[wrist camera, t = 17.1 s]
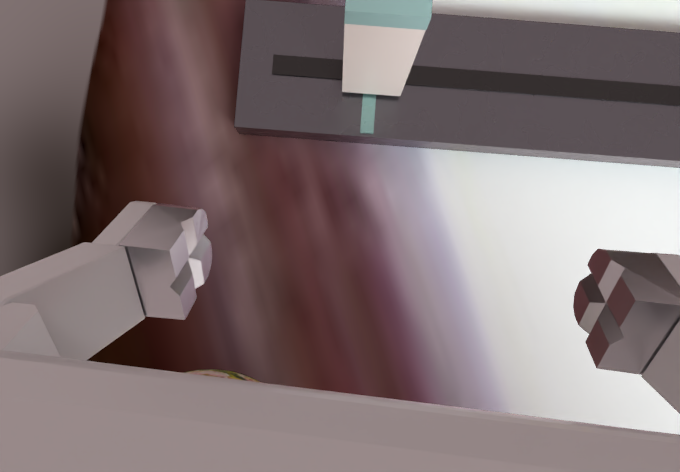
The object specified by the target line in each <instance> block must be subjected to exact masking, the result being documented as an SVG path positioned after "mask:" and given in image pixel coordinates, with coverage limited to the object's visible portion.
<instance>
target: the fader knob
mask: <svg viewBox="0 0 680 472" xmlns="http://www.w3.org/2000/svg"><path fill="white" fill-rule="evenodd" d="M431 15H432V0H346V2H345V21H344V51H343V78H342V92H350V93H363V94H376V95H389V96H401V93H402V91H403V88H404V85H405V83H406V80H407V78H408V75H409V72H410V70H411V67H412V65H413V62H414V59H415V57H416V54H417V52H418V49H419V46H420V44H421V41H422V39H423V36H424V33H425V31H426V30H427V27H428V25H429V22H430V20H431Z"/></svg>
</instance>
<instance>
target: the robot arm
mask: <svg viewBox="0 0 680 472" xmlns="http://www.w3.org/2000/svg"><path fill="white" fill-rule="evenodd" d="M207 227H208V221H207V216H206V212H205V211H204V210H203V209H202V208H194V207H186V206H178V205H169V204H161V203H153V202H143V201H133V202H130V203H129V204H128V205H127V206H126V207H125V208H124V209H123V210H122V211H121V212H120V213H119V214H118V215H117V217H116V218H115V219H114V220H113V221H112V222H111V223H110V224H109V225H108V226H107V227H106V228H105V229H104V230H103V231H102V232H101V234H100V235H99V236H98V237H97V238H96V239H95V240H94V241H93V242H92V243H87V242H84V243H81V244H79V245H76V246H74V247H71V248H69V249H67V250H64V251H62V252H59V253H57V254H54V255H52V256H49V257H47V258H44V259H42V260H39V261H37V262H34V263H32V264H29V265H27V266H24V267H22V268H19V269H17V270H15V271H12V272H10V273H7V274H5V275H2V276H0V472H680V435H677V434H669V433H661V432H652V431H644V430H636V429H628V428H620V427H612V426H604V425H596V424H588V423H581V422H573V421H565V420H557V419H549V418H541V417H533V416H526V415H518V414H510V413H502V412H494V411H486V410H478V409H470V408H462V407H454V406H446V405H438V404H430V403H422V402H414V401H406V400H398V399H390V398H382V397H374V396H366V395H358V394H350V393H342V392H334V391H326V390H318V389H310V388H301V387H293V386H285V385H277V384H269V383H261V382H253V381H245V380H237V379H229V378H221V377H213V376H205V375H197V374H189V373H181V372H173V371H165V370H157V369H149V368H141V367H133V366H125V365H117V364H109V363H101V362H93V361H86V360H88V359H89V358H90V357H92V356H93V355H95V354H96V353H97V352H99V351H100V350H102V349H103V348H104V347H106V346H107V345H109V344H110V343H111V342H113V341H114V340H116V339H117V338H118V337H120V336H121V335H123V334H124V333H125V332H127V331H128V330H130V329H131V328H132V327H134V326H135V325H137V324H138V323H139V322H141V321H142V320H144V319H145V316H147V317H158V318H169V319H181V320H185V319H186V317H187V315H188V313H189V311H190V309H191V308H192V306H193V304H194V302H195V300H196V298H197V296H196V290H195V289H196V288H197V287H199V286H201V285H203V284H204V283H205V281H206V279H207V277H208V275H209V272H210V268H211V263H212V247H211V242H210V241H209V240H208V239H207V238H206V236H205V235H204V232H205V230H206V229H207ZM588 267H589V269H590V271H591V274H590V275H589V276H587V277H586V278H584V279H582V280H581V281H580V282H579V284H578V287H577V289H576V292H575V296H574V305H573V307H574V313H575V317H576V320H577V322H578V325H579V326H580V327H581V328H583V329H584V330H585V331H586V332H588V333H589V336H588V338H587V340H586V344H587V347H588V349H589V351H590V354H591V356H592V358H593V361H594V363H595V365H596V368H599V369H606V370H613V371H620V372H627V373H634V374H641V375H642V376H641V377H642V378H643V379H644V380H645V381H647V382H648V383H649V384H650V385H651V386H652V387H653V388H654V389H655V390H656V391H657V392H658V393H659V394H660V395H661V396H662V397H663V398H664V399H665V400H666V401H667V402H668V403H669V404H670V405H671V406H672V407H673V408H674V409H675V410H677V411H678V412H679V413H680V256H679V255H674V254H659V253H640V252H629V251H617V250H605V249H597V250H596V251H595V253H594V254H593V255H592V256H591V259H590V261H589V263H588Z"/></svg>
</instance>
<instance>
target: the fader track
mask: <svg viewBox="0 0 680 472" xmlns="http://www.w3.org/2000/svg"><path fill="white" fill-rule="evenodd" d="M344 21H345V7H343V6H330V5H317V4H305V3H292V2H279V1H267V0H246V4H245V14H244V25H243V36H242V47H241V58H240V69H239V80H238V91H237V102H236V113H235V124H234V127H235V128H236V130H237V131H238V132H239V134H250V135H263V136H276V137H289V138H302V139H315V140H328V141H341V142H354V143H366V144H379V145H392V146H405V147H418V148H431V149H444V150H457V151H470V152H483V153H496V154H509V155H522V156H535V157H548V158H561V159H574V160H587V161H600V162H612V163H625V164H638V165H651V166H664V167H677V168H680V33H674V32H661V31H648V30H636V29H623V28H610V27H597V26H585V25H572V24H559V23H546V22H534V21H521V20H508V19H496V18H483V17H470V16H457V15H445V14H432V15H431V20H430V22H429V25H428V27H427V30H426V31H425V33H424V36H423V39H422V41H421V44H420V46H419V49H418V52H417V54H416V57H415V59H414V62H413V65H412V67H411V70H410V72H409V75H408V78H407V80H406V83H405V85H404V88H403V91H402V93H401V96H389V95H376V94H363V93H350V92H342V78H343V51H344Z"/></svg>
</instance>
